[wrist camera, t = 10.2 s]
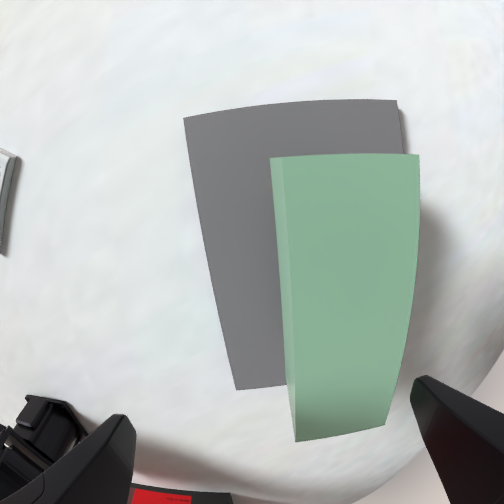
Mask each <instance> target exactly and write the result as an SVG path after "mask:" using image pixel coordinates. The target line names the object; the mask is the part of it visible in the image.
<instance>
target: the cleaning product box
mask: <svg viewBox="0 0 504 504" xmlns="http://www.w3.org/2000/svg"><path fill="white" fill-rule="evenodd" d="M127 504H233V501H232V498H231V495H230V493H217V492H198V491H185V490H175V489H167V488H159V487H153V486H146V485H140V484H135V483H131V486H130V492H129V497H128V502H127Z"/></svg>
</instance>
